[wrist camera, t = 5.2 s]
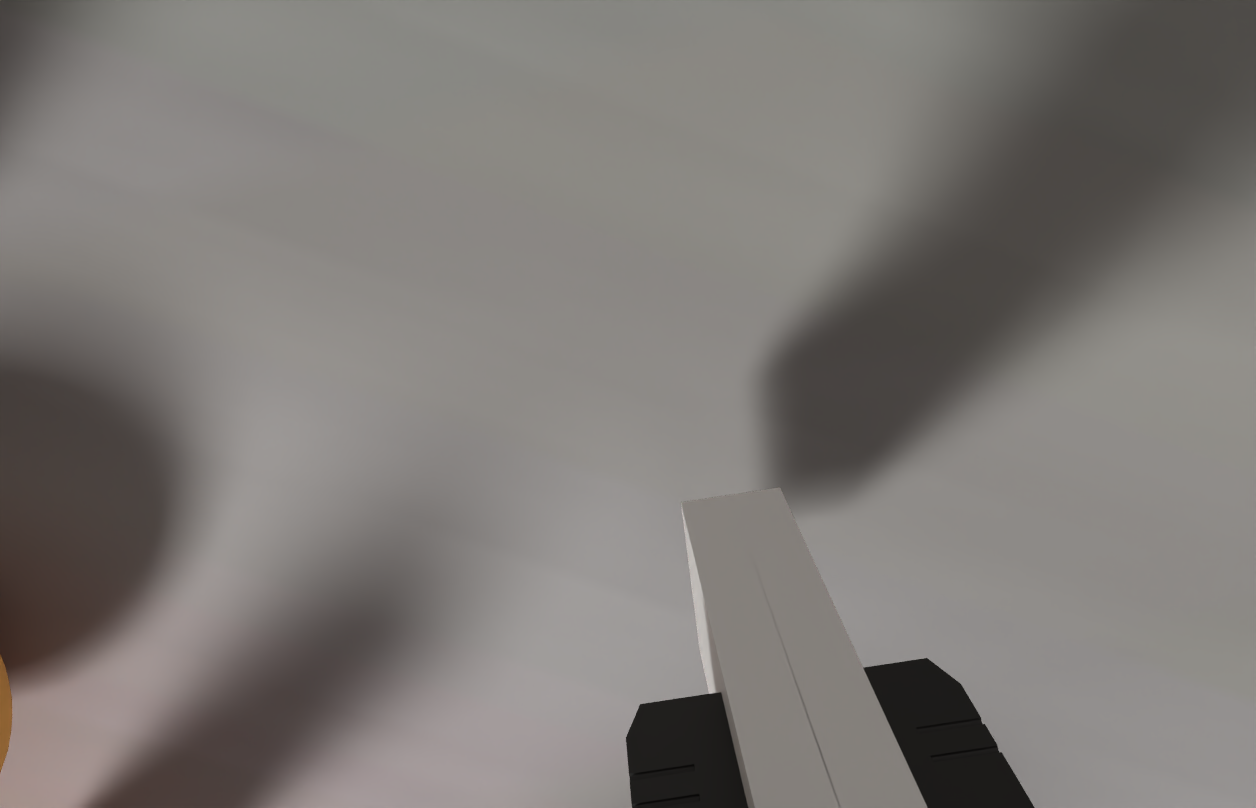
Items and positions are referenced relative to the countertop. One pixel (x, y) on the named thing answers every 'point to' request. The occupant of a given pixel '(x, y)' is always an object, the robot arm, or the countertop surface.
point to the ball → (4, 712)
